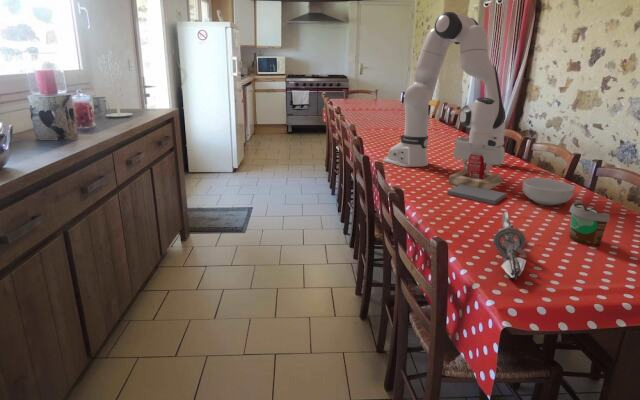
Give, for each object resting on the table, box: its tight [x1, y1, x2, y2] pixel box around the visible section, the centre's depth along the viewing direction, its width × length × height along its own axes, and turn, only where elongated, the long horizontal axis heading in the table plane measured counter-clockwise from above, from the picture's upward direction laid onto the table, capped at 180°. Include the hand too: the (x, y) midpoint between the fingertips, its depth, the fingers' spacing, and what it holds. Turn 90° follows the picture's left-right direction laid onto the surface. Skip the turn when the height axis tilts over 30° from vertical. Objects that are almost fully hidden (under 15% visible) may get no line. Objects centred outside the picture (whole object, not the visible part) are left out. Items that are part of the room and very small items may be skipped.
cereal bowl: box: [522, 177, 575, 206], centre depth 157 cm, size 17×17×7 cm
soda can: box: [467, 154, 487, 180], centre depth 179 cm, size 7×7×13 cm
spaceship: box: [492, 210, 528, 280], centre depth 115 cm, size 8×35×8 cm
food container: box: [569, 200, 611, 247], centre depth 124 cm, size 12×6×10 cm, turn 5°
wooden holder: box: [448, 169, 503, 190], centre depth 180 cm, size 16×16×4 cm
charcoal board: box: [447, 184, 507, 205], centre depth 165 cm, size 18×12×2 cm, turn 49°
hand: (476, 171), depth 179 cm, fingers open, 7 cm apart
